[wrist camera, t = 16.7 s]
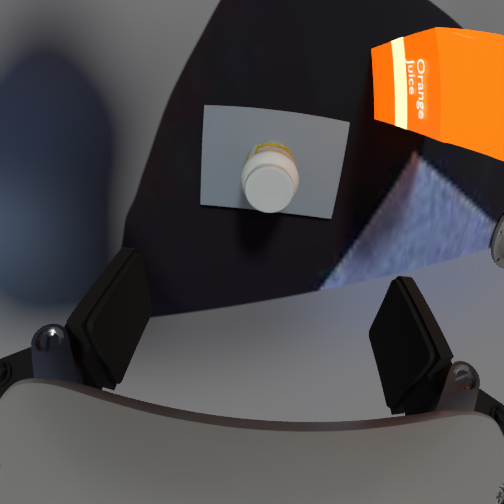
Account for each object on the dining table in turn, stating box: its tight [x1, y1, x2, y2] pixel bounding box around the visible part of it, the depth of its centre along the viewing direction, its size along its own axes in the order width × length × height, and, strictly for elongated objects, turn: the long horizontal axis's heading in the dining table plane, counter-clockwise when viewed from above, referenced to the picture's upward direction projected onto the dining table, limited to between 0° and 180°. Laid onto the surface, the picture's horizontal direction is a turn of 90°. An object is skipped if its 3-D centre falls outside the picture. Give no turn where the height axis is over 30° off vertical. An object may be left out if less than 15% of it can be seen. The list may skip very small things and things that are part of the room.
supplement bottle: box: [240, 140, 299, 213], centre depth 26 cm, size 5×5×10 cm
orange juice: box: [371, 27, 504, 161], centre depth 16 cm, size 8×9×20 cm
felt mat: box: [201, 105, 350, 219], centre depth 31 cm, size 16×12×1 cm
